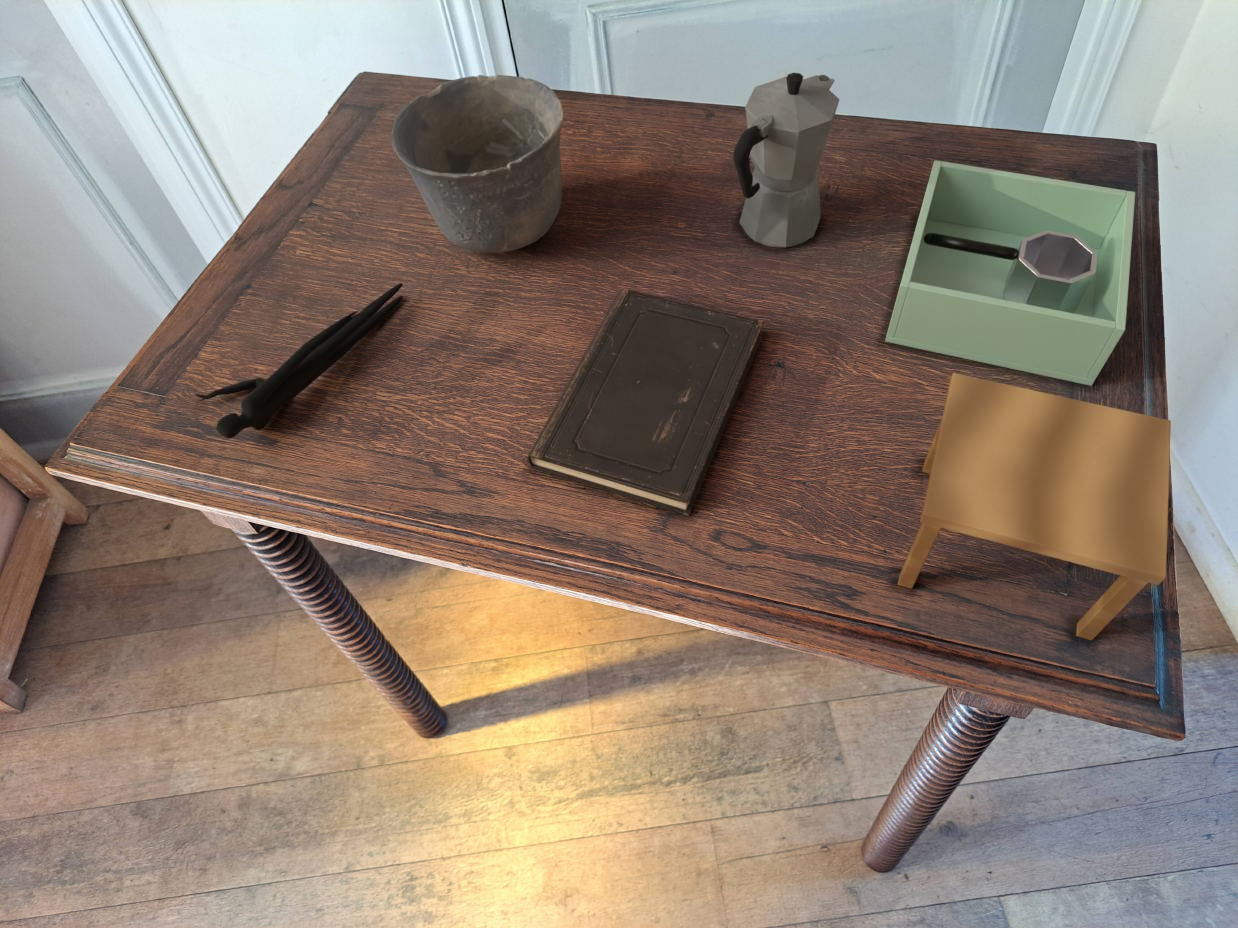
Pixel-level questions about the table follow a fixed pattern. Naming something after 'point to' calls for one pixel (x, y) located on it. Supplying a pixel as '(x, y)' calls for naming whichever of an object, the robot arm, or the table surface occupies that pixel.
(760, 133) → the coffeepot
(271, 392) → the dark humanoid figurine
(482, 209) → the cup
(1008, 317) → the basin
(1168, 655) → the table surface
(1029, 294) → the saucepan
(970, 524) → the stand
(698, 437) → the hardcover book
